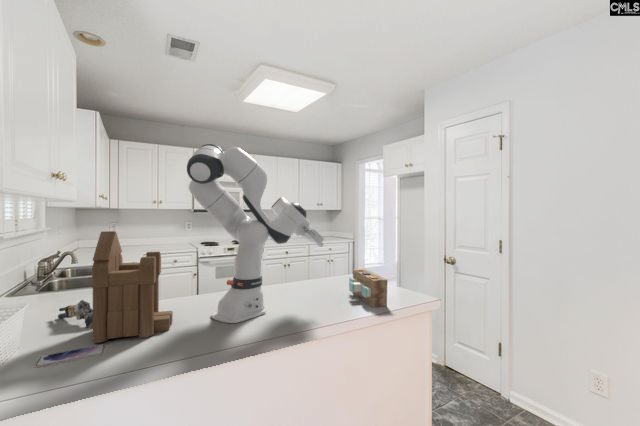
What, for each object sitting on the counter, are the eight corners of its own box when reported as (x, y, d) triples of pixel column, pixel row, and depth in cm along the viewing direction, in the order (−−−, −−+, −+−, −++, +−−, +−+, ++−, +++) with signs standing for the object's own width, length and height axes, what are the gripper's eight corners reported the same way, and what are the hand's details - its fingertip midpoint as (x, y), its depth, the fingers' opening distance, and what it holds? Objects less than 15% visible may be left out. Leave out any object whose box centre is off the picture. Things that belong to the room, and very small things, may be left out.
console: (372, 307, 136) (373, 279, 135) (352, 291, 159) (353, 268, 158) (386, 306, 138) (387, 278, 137) (364, 291, 161) (365, 267, 160)
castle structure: (168, 336, 102) (168, 233, 101) (90, 345, 95) (90, 234, 94) (176, 309, 128) (176, 226, 127) (115, 315, 120) (115, 227, 119)
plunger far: (352, 288, 152) (352, 279, 152) (349, 285, 156) (349, 277, 156) (368, 287, 154) (368, 278, 154) (364, 284, 159) (365, 276, 158)
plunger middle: (352, 292, 144) (352, 284, 143) (349, 290, 148) (349, 281, 147) (369, 291, 146) (369, 283, 146) (365, 289, 150) (366, 281, 150)
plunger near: (365, 297, 137) (365, 288, 137) (361, 294, 141) (361, 285, 141) (383, 296, 139) (383, 287, 139) (378, 293, 143) (379, 284, 143)
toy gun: (91, 327, 106) (86, 299, 107) (58, 332, 114) (53, 306, 115) (101, 324, 109) (96, 296, 110) (68, 329, 117) (64, 303, 118)
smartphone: (40, 355, 87) (104, 344, 95) (40, 358, 87) (104, 346, 95) (34, 366, 81) (102, 353, 89) (34, 370, 81) (102, 356, 89)
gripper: (313, 222, 129) (334, 243, 133) (299, 218, 148) (318, 237, 152) (303, 234, 127) (325, 254, 132) (290, 228, 146) (310, 246, 151)
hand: (321, 245), depth 142 cm, fingers closed
